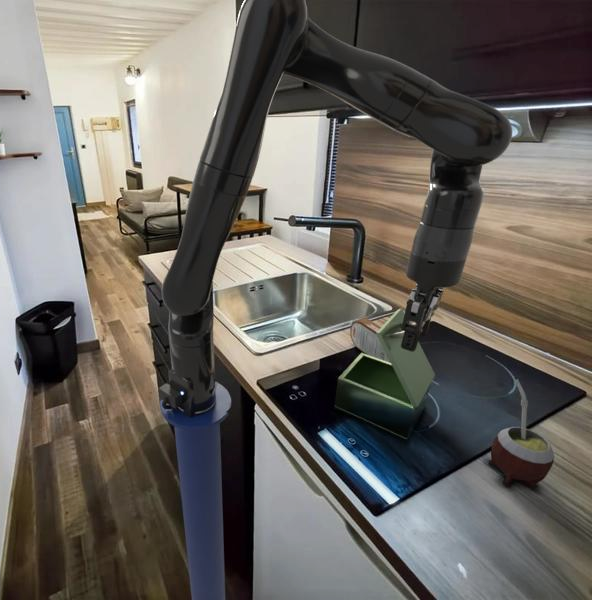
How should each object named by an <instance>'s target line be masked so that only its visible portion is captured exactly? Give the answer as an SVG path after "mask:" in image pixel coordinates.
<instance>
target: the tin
mask: <svg viewBox="0 0 592 600" xmlns="http://www.w3.org/2000/svg"><path fill="white" fill-rule="evenodd" d="M381 327H382V326H380V325H378V324H377V323H375V322H374V321H372V320H371V319H369V318H366V317H361V318H360V319H357V320H354V321H352V323H351V324H350V327H349V328H350V329H349V333H350V339H351V341H352V343H353V345H354V346H355V347H356V348H357V349H358V350H359V351H360V352H361V353H363V354H366V355H369V356H372V357H375V358H378V359H381V360H384V361H387V362H390V360H389V358H388V356H387V354H386V352H385V350H384V348H383V346H382V344H381V343H380V341H379V339H378V337H377V335H376V333H377V332H378V330H379V329H380V328H381ZM390 363H391V362H390Z"/></svg>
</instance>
